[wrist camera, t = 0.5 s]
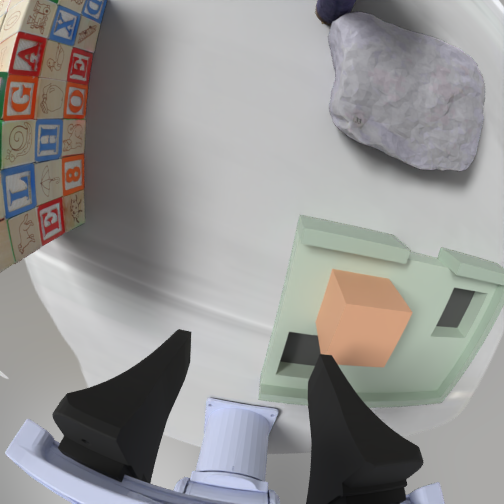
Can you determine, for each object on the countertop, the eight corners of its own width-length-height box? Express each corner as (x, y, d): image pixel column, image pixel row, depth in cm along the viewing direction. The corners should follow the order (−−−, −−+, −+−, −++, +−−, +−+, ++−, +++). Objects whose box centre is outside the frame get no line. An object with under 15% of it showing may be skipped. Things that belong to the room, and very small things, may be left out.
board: (432, 384, 25) (441, 402, 22) (260, 375, 25) (258, 399, 22) (497, 263, 19) (515, 277, 16) (299, 214, 19) (303, 227, 16)
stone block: (447, 168, 18) (463, 62, 13) (476, 189, 14) (496, 62, 9) (316, 139, 19) (327, 19, 14) (323, 152, 15) (336, 0, 10)
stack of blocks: (61, 16, 14) (-26, -9, 2) (110, -2, 13) (22, -51, 2) (43, 219, 21) (-50, 270, 10) (87, 224, 21) (-18, 287, 10)
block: (368, 328, 20) (383, 367, 16) (315, 321, 20) (322, 363, 16) (388, 278, 18) (412, 312, 14) (332, 268, 18) (346, 303, 14)
